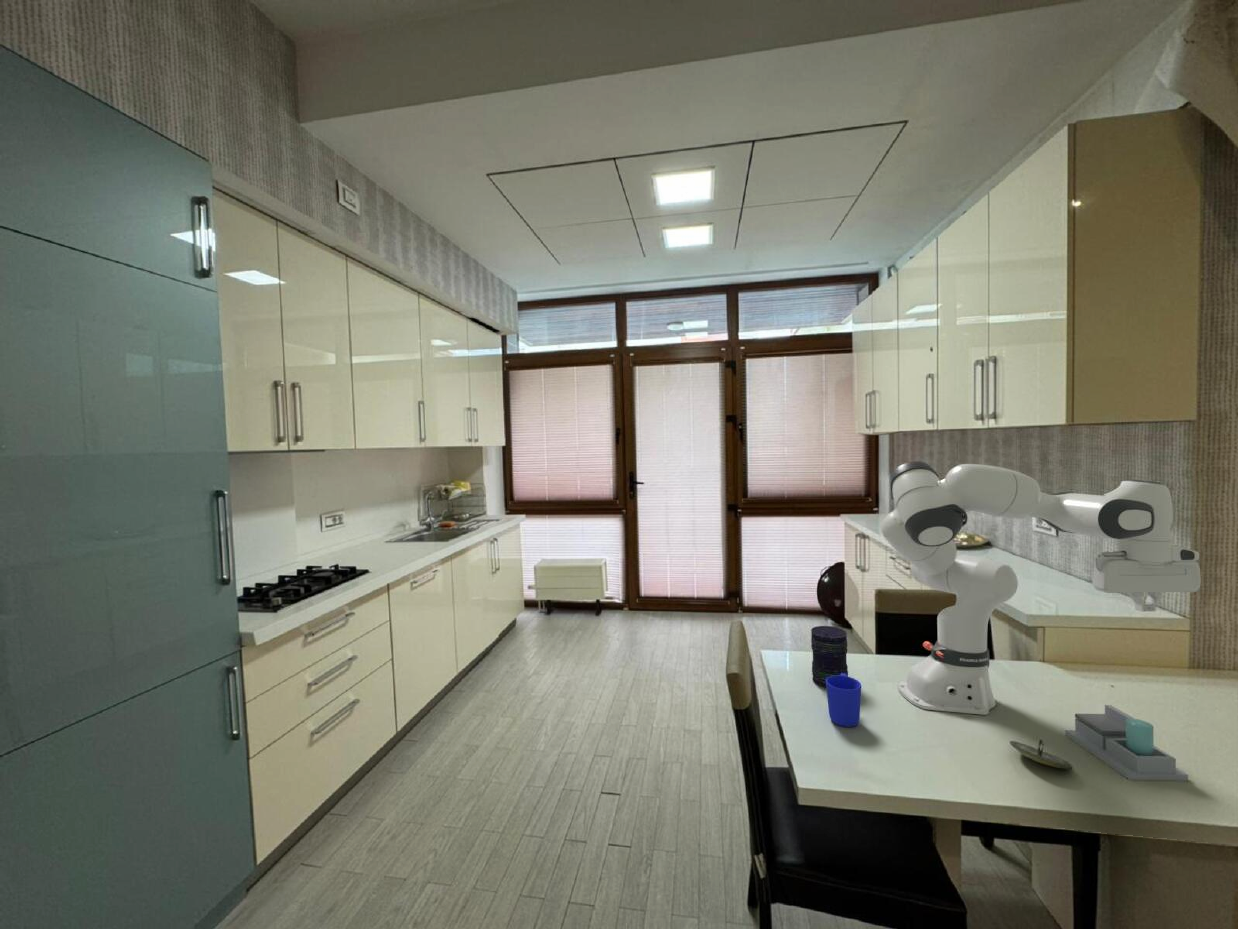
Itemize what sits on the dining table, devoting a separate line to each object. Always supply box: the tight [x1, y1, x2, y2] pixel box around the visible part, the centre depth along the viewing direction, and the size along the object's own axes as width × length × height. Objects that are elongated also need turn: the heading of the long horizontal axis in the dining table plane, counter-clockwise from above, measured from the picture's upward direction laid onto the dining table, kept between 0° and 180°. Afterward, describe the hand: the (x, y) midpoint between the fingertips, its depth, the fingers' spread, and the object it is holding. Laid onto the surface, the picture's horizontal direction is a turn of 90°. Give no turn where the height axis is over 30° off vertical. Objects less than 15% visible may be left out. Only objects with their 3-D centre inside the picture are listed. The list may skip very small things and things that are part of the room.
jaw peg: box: [1126, 718, 1155, 756], centre depth 105 cm, size 4×4×8 cm
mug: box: [825, 673, 862, 728], centre depth 128 cm, size 8×12×10 cm
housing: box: [1064, 717, 1189, 782], centre depth 109 cm, size 16×11×4 cm
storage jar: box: [810, 625, 849, 689], centre depth 148 cm, size 10×10×15 cm
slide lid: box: [1074, 704, 1136, 735], centre depth 113 cm, size 7×7×3 cm
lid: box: [1009, 739, 1073, 770], centre depth 107 cm, size 11×10×5 cm
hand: (1145, 610), depth 115 cm, fingers closed
